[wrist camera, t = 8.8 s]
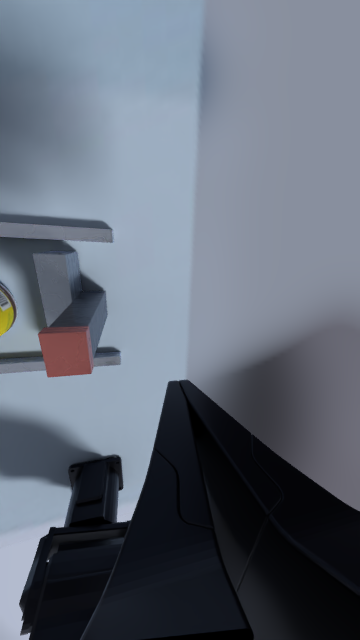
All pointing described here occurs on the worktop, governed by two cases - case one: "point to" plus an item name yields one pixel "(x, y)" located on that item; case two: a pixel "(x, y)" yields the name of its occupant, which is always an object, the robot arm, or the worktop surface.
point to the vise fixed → (56, 234)
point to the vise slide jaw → (68, 315)
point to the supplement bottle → (7, 310)
